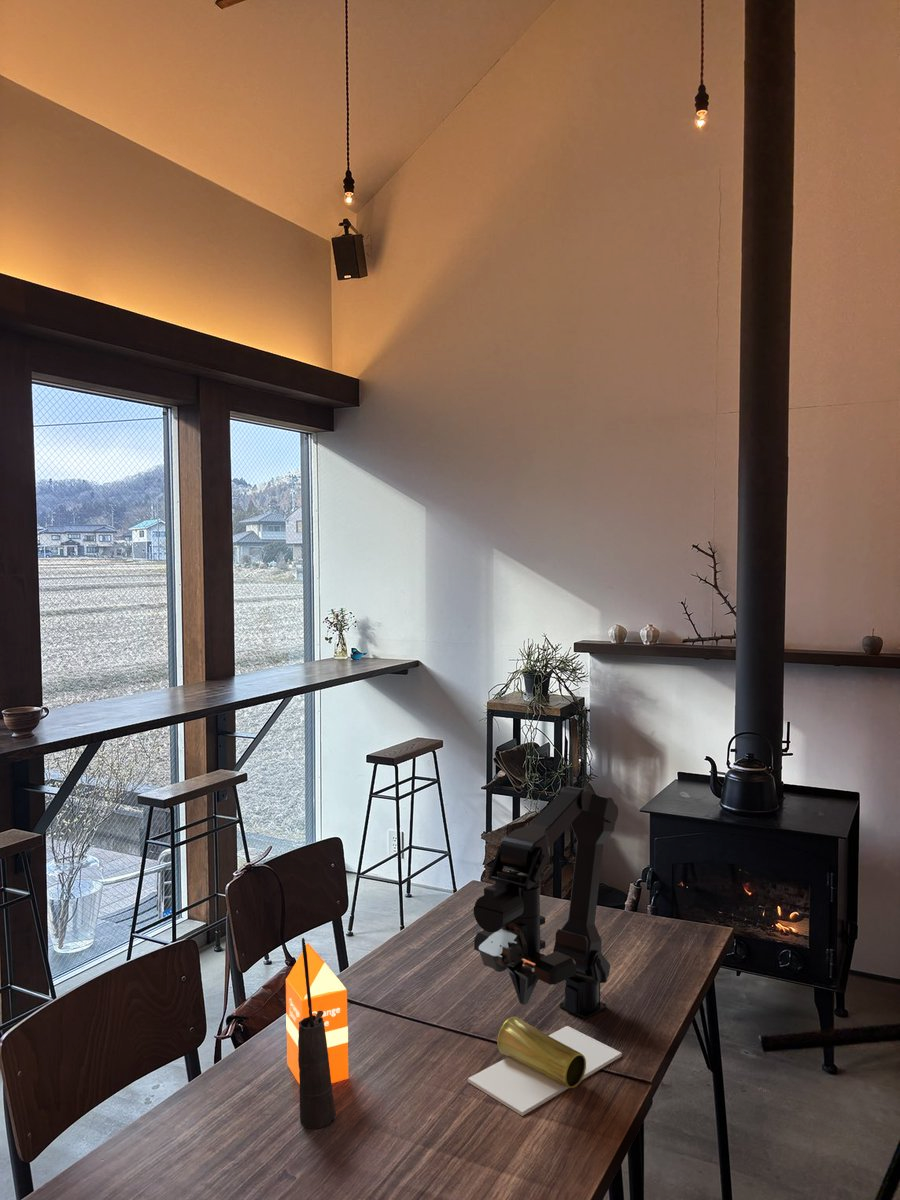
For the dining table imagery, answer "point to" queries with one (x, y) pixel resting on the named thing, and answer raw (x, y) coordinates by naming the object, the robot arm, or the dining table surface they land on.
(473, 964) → the dining table surface
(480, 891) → the dining table surface
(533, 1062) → the vase
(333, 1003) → the orange juice
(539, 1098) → the mat
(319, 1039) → the butter churn
